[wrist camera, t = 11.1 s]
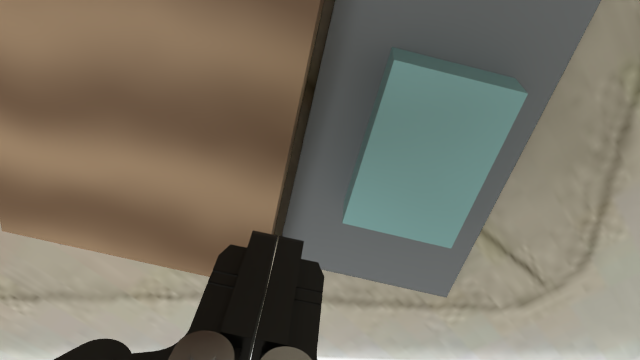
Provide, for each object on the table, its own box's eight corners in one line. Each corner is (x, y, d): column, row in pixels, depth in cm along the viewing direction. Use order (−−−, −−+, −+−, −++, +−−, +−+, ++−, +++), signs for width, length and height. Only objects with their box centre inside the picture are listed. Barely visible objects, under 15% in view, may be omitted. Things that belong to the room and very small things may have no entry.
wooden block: (3, -175, 18) (-79, -191, 15) (342, -87, 19) (337, -84, 16) (46, 190, 28) (2, 230, 25) (272, 241, 29) (259, 287, 25)
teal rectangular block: (528, 93, 20) (515, 78, 22) (394, 59, 20) (391, 46, 21) (450, 248, 25) (445, 225, 26) (342, 223, 24) (343, 201, 26)
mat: (360, -112, 19) (360, -112, 18) (618, -44, 19) (623, -43, 19) (277, 255, 29) (276, 259, 29) (445, 292, 30) (446, 297, 29)
